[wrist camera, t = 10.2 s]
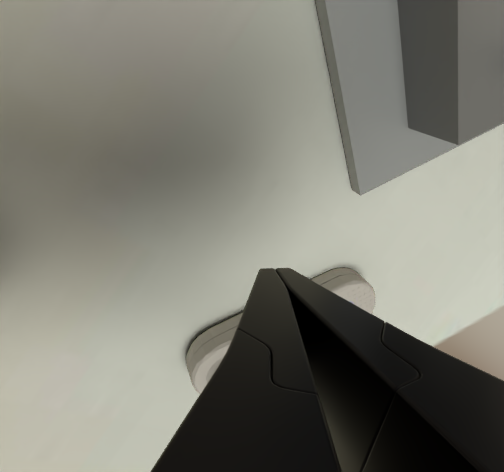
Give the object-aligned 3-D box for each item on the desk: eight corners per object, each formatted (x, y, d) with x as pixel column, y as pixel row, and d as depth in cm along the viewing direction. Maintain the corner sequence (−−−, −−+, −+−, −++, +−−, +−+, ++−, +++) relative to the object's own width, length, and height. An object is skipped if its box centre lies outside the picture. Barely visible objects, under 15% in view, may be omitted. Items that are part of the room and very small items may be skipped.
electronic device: (449, 390, 24) (239, 515, 22) (359, 301, 32) (198, 383, 30) (453, 337, 21) (210, 472, 19) (353, 253, 29) (173, 340, 27)
